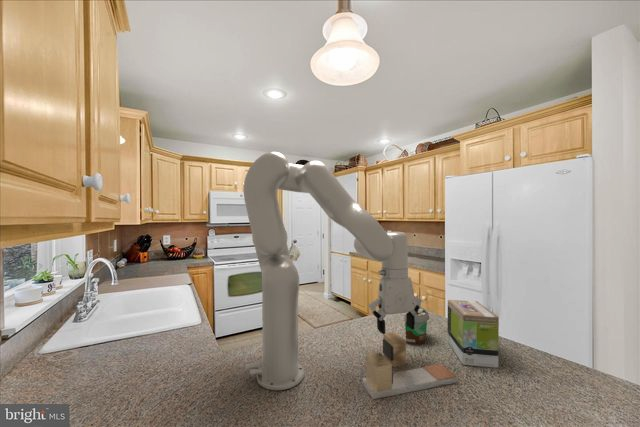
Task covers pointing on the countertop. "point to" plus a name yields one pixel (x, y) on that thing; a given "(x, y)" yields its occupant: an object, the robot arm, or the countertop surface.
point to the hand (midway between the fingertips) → (396, 329)
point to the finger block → (394, 349)
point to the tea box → (473, 333)
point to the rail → (401, 377)
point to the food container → (417, 328)
